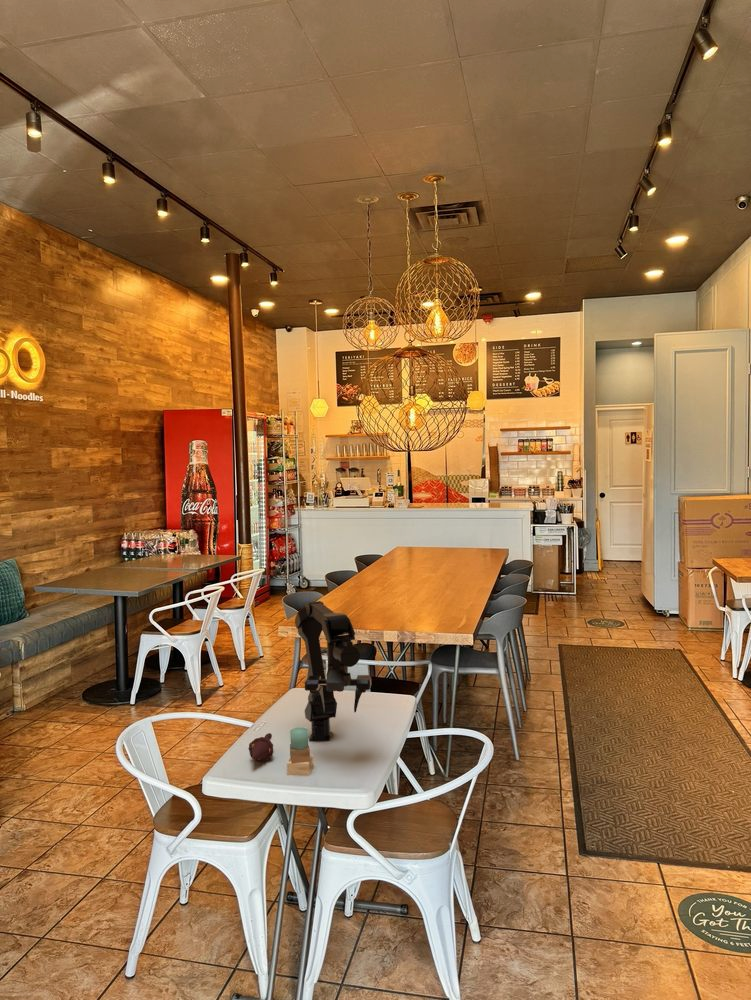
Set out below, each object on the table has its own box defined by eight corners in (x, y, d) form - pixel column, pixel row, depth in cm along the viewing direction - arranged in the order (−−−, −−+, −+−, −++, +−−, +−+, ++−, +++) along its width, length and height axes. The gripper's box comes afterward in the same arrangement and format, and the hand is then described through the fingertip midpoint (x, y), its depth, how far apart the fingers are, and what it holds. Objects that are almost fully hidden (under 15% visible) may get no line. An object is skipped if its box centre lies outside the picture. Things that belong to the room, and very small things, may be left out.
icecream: (268, 749, 194) (283, 733, 209) (243, 741, 195) (259, 727, 210) (262, 773, 194) (277, 756, 209) (237, 766, 195) (254, 749, 210)
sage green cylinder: (292, 743, 196) (291, 727, 196) (309, 743, 196) (308, 727, 196) (289, 750, 192) (288, 733, 192) (306, 750, 191) (306, 733, 191)
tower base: (292, 766, 198) (292, 754, 198) (313, 767, 197) (313, 754, 197) (287, 775, 192) (286, 763, 192) (308, 776, 191) (308, 763, 191)
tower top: (290, 756, 196) (289, 744, 196) (308, 754, 197) (307, 742, 197) (291, 763, 191) (291, 750, 191) (310, 761, 192) (309, 748, 192)
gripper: (300, 666, 195) (302, 722, 195) (367, 665, 193) (369, 721, 194) (307, 656, 206) (309, 708, 206) (370, 655, 204) (372, 708, 205)
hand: (339, 712), depth 203 cm, fingers open, 9 cm apart
